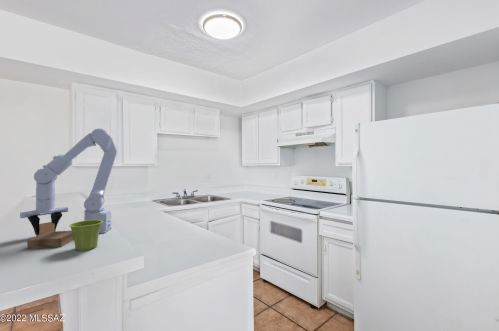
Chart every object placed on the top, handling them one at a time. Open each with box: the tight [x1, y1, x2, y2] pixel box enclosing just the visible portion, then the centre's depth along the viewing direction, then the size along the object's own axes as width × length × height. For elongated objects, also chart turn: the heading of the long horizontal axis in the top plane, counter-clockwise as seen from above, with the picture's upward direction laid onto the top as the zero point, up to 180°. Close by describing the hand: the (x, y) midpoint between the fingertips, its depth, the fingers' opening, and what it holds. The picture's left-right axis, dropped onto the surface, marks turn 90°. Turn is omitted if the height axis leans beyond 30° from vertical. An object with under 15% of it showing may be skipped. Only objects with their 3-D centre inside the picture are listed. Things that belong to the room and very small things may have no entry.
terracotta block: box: [35, 221, 56, 237], centre depth 93 cm, size 4×4×5 cm
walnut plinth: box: [26, 230, 74, 250], centre depth 85 cm, size 10×10×3 cm
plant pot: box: [69, 220, 102, 252], centre depth 80 cm, size 9×9×9 cm
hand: (45, 232), depth 93 cm, fingers closed on terracotta block, 4 cm apart
